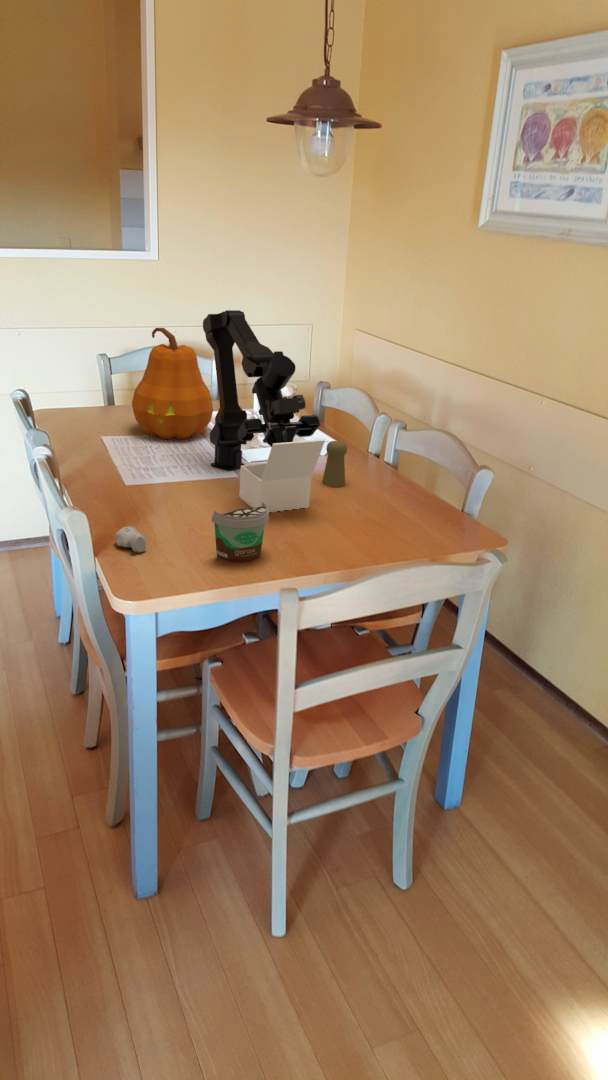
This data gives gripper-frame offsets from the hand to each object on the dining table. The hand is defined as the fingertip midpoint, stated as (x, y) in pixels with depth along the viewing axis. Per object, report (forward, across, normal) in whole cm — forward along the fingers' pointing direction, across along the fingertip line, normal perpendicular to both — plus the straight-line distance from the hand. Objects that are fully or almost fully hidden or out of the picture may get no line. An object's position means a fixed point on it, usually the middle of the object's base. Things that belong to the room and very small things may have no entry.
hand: (289, 461), depth 183 cm
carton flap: (0, 0, -2) cm, 2 cm away
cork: (-1, +21, +19) cm, 28 cm away
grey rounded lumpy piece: (+15, -39, +3) cm, 42 cm away
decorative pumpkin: (-38, -4, +57) cm, 69 cm away
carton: (+4, 0, +13) cm, 14 cm away
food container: (+23, -19, -6) cm, 30 cm away
